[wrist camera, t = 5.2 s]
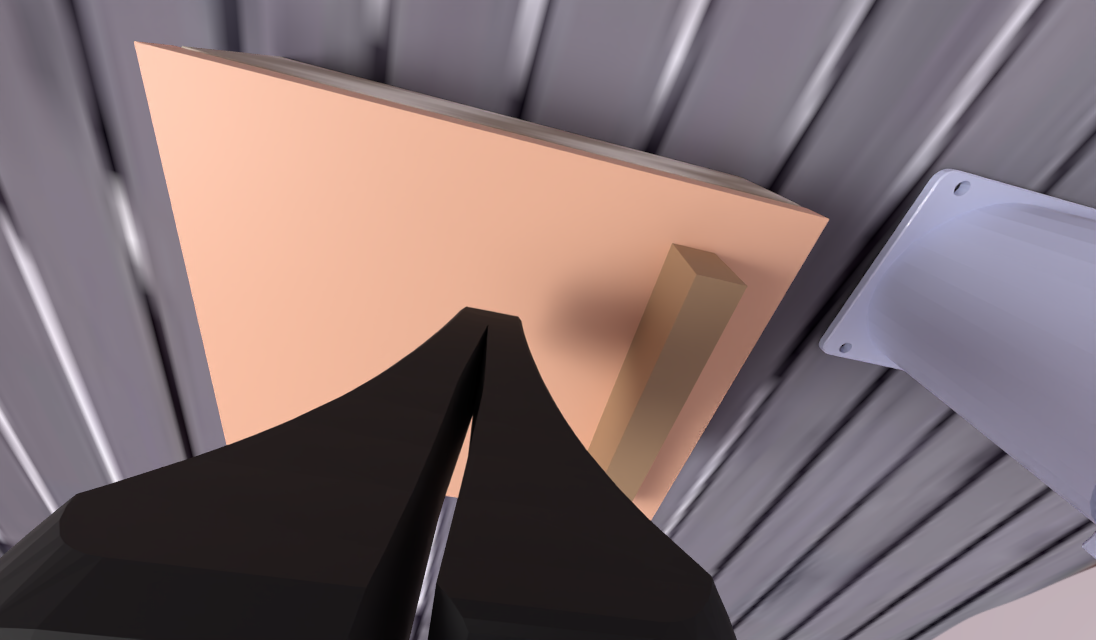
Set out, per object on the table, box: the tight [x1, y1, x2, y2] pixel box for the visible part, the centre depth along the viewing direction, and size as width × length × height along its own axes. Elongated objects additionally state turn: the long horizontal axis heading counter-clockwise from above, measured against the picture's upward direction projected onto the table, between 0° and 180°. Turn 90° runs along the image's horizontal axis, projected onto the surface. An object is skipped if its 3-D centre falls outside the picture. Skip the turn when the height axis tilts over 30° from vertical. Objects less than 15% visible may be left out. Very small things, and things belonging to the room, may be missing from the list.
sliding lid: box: [134, 41, 829, 521], centre depth 12 cm, size 16×13×3 cm
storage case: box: [182, 46, 800, 207], centre depth 15 cm, size 16×13×4 cm
